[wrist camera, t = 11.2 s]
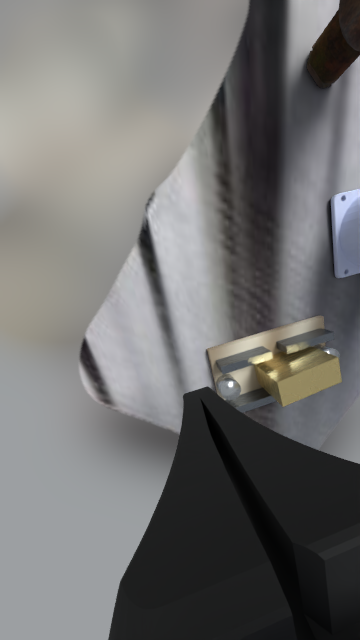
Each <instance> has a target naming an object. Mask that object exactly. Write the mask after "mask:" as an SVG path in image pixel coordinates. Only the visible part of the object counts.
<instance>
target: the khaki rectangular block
mask: <svg viewBox="0 0 360 640" xmlns="http://www.w3.org/2000/svg"><path fill="white" fill-rule="evenodd" d="M272 357H273V359H270V360H267V361H264V362H261V363H258V364H255V365H254V368H255V372H256V376H257V380H258V383H259V384H260V385H261V386H262V387H263V388H264V389H265V390H266V391H267V392H268V393H269V394H270V395H271V396H272V397H273V398H274V399H275V400H276V401H277V402H279V403H280V404H281V405H282V406H283V407H284V406H286V405H289V404H291V403H293V402H296V401H298V400H300V399H303V398H305V397H307V396H310V395H312V394H315V393H317V392H319V391H322V390H324V389H326V388H329V387H331V386H333V385H336V384H338V383H340V382H342V379H341V372H340V365H339V358H338V357H337V356H334V355H332V354H329V353H327V352H325V351H322V350H320V349H317V348H315V347H312V346H311V347H308V348H305V349H302V350H299V351H296V352H292V353H289V354H287V353H285V352H283V351H282V352H279V353H277V354H274V355H272Z"/></svg>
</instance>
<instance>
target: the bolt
mask: <svg viewBox="0 0 360 640" xmlns="http://www.w3.org/2000/svg"><path fill="white" fill-rule="evenodd" d="M312 48H313V50H312V51H310V55H309V58H308V62H307V70H308V71H309V73H310V74H311V76H312V77H313V79H314V80H315V82H316V83H317V85H318V86H319V87H321V88H327V87H329V86H331V84H332V83H334V82H335V81H336V80H337V79H338V78H339V77H340V76H341V75H342V74H343V73H344V71H345V70H346V69H347V68H348V67H349V66H350V65H351V64H352V63H353V62H354V61H355V60H356V59H357V58H358V56H359V55H360V0H340V4H339V10H338V11H337V12H336V14H335V16H334V17H333V18H332V20H331V21H330V22H329V24H328V26H327V27H326V28H325V30H324V31H323V33H322V34H321V35H320V37H319V38H318V39H317V41H316V43H315V44H314V45H313V47H312Z"/></svg>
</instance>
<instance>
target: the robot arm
mask: <svg viewBox="0 0 360 640" xmlns="http://www.w3.org/2000/svg"><path fill="white" fill-rule="evenodd" d="M341 198H342V200H341ZM331 214H332V232H333V250H334V268H335V276H336V278H344V277H347V276H351V275H354V274H358V273H360V189H356V190H352V191H348V192H344V193H339V194H337V195H334V196H333V197H332V199H331ZM344 271H345V273H344ZM183 399H184V409H183V419H182V426H181V432H180V436H179V441H178V446H177V450H176V454H175V457H174V460H173V464H172V467H171V470H170V473H169V476H168V479H167V482H166V485H165V487H164V490H163V492H162V495H161V497H160V500H159V502H158V504H157V507H156V509H155V511H154V514H153V516H152V518H151V521H150V523H149V525H148V527H147V529H146V532H145V534H144V536H143V538H142V540H141V542H140V544H139V546H138V548H137V550H136V552H135V554H134V556H133V558H132V560H131V562H130V564H129V566H128V568H127V570H126V572H125V573H124V576H123V577H122V579H121V581H120V585H119V589H118V594H117V599H116V603H115V608H114V613H113V618H112V623H111V629H110V634H109V639H108V640H360V464H358V463H354V462H351V461H348V460H344V459H341V458H338V457H336V456H333V455H330V454H327V453H324V452H321V451H319V450H316V449H313V448H311V447H308V446H306V445H303V444H301V443H299V442H296V441H294V440H292V439H289V438H287V437H285V436H283V435H280V434H278V433H276V432H274V431H272V430H270V429H269V428H267V427H265V426H263V425H261V424H259V423H258V422H256V421H254V420H253V419H251V418H249V417H248V416H246V415H245V414H243V413H242V412H240V411H239V410H237V409H236V408H234V407H233V406H232V405H230V404H229V403H228V402H226V401H225V400H224V399H222V398H221V397H220V396H219V395H218V394H216V393H215V392H214V391H213V390H212V389H211V388H209V387H204V388H201V389H198V390H195V391H192V392H189V393H186V394H184V396H183Z"/></svg>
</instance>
